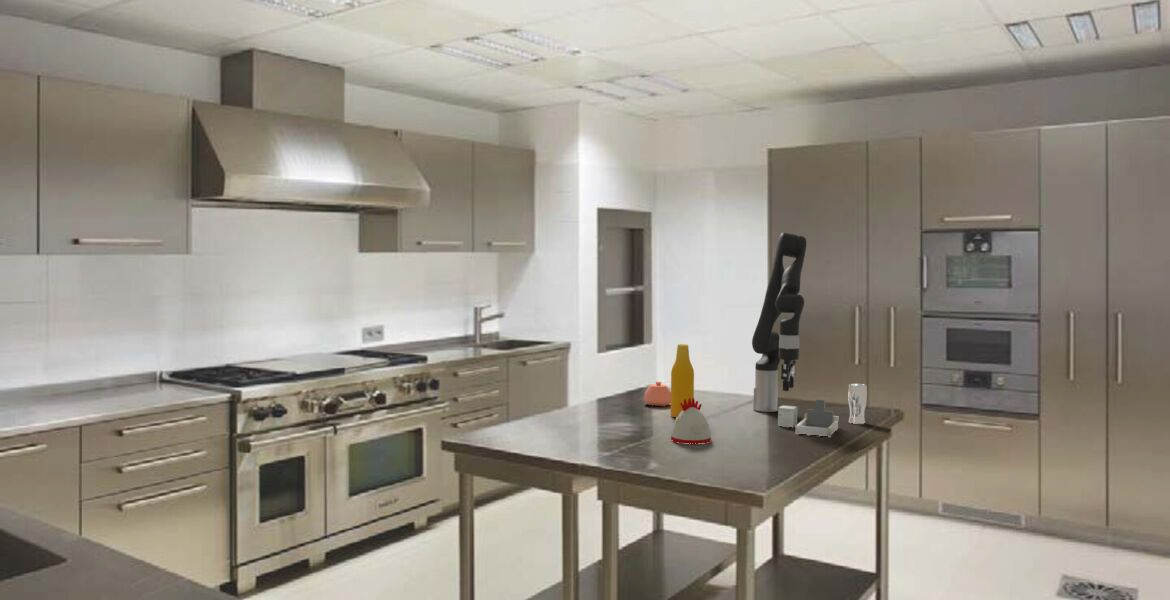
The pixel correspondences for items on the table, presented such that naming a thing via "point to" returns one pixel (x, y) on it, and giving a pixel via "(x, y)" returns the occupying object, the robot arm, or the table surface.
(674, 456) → the table surface
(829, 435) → the light grey tray
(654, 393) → the sugar bowl
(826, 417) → the pusher
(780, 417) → the product box
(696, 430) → the beanie hat
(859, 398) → the beer glass
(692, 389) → the beer bottle
